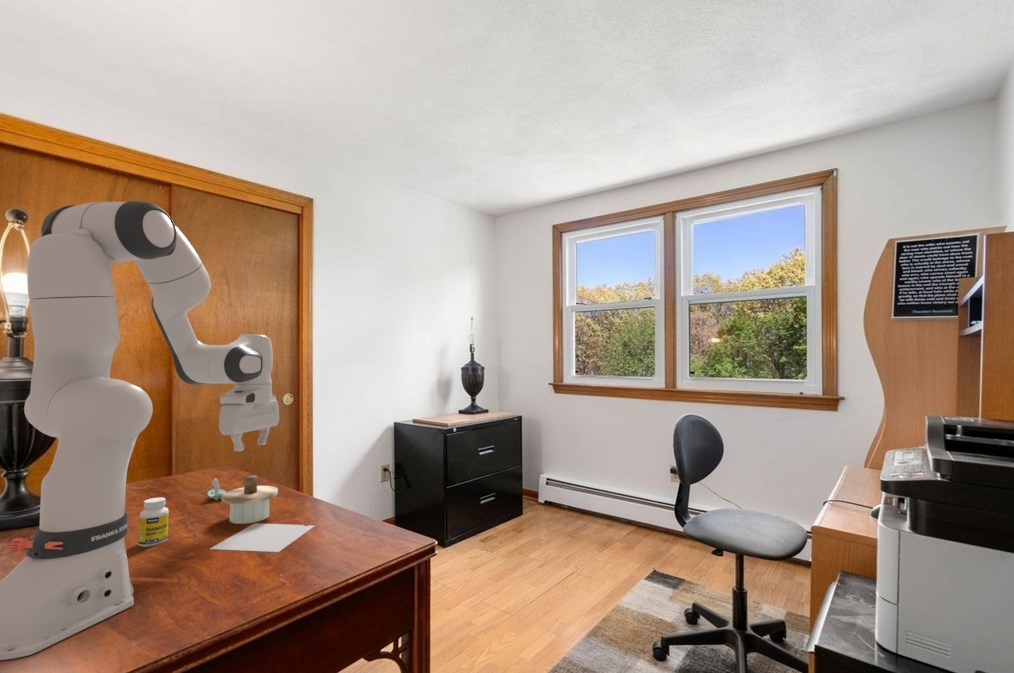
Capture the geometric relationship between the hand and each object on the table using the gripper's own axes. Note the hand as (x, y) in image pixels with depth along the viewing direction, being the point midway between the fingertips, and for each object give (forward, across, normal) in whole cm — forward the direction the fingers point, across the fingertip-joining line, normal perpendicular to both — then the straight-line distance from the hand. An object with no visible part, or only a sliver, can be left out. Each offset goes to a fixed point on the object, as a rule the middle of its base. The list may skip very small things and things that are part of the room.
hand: (250, 447), depth 125 cm
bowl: (+19, -1, 0) cm, 19 cm away
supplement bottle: (+19, +16, -12) cm, 28 cm away
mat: (+19, +11, +12) cm, 25 cm away
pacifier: (+19, -17, -20) cm, 33 cm away
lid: (+13, 0, 0) cm, 13 cm away
